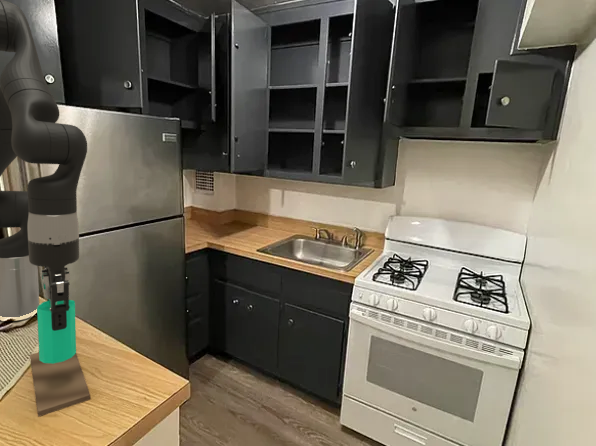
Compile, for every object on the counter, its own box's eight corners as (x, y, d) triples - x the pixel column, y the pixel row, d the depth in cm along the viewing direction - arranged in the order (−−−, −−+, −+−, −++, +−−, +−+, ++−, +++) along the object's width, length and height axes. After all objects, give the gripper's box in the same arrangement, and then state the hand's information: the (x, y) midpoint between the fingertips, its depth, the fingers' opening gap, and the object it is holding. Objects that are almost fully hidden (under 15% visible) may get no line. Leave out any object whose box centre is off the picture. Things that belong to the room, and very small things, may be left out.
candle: (58, 366, 64) (56, 306, 61) (30, 359, 64) (27, 300, 62) (83, 349, 69) (82, 293, 67) (58, 343, 70) (56, 288, 68)
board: (30, 358, 75) (29, 354, 75) (73, 348, 80) (73, 344, 80) (38, 416, 61) (37, 411, 60) (90, 399, 66) (90, 394, 66)
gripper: (25, 228, 65) (29, 310, 68) (30, 249, 54) (35, 344, 58) (72, 225, 70) (74, 302, 73) (85, 244, 59) (87, 333, 63)
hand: (57, 320), depth 65 cm, fingers closed on candle, 6 cm apart
